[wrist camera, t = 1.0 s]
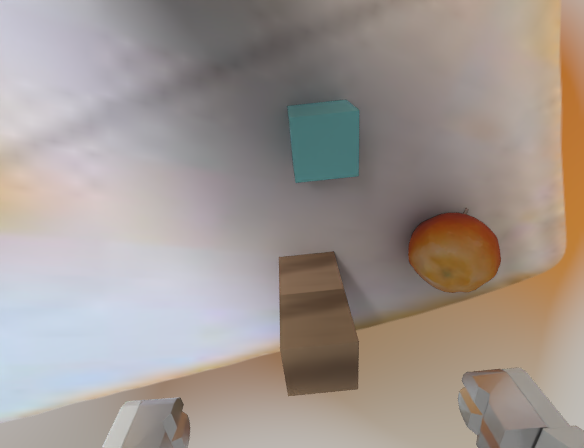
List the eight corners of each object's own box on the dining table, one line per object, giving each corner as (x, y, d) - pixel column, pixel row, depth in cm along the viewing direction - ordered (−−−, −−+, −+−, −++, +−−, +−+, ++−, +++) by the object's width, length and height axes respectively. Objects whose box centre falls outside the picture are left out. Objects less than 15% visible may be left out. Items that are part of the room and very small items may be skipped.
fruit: (502, 252, 34) (502, 310, 28) (424, 250, 38) (411, 301, 33) (498, 186, 30) (497, 240, 25) (411, 194, 34) (394, 241, 29)
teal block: (287, 105, 27) (289, 117, 23) (345, 99, 27) (359, 110, 23) (292, 162, 29) (295, 182, 25) (346, 156, 29) (358, 176, 25)
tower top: (279, 295, 29) (280, 349, 24) (344, 288, 29) (358, 341, 24) (286, 339, 32) (288, 396, 27) (344, 333, 32) (357, 389, 27)
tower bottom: (278, 257, 35) (279, 295, 29) (333, 251, 35) (344, 288, 29) (284, 298, 38) (286, 339, 32) (335, 293, 38) (344, 333, 32)
